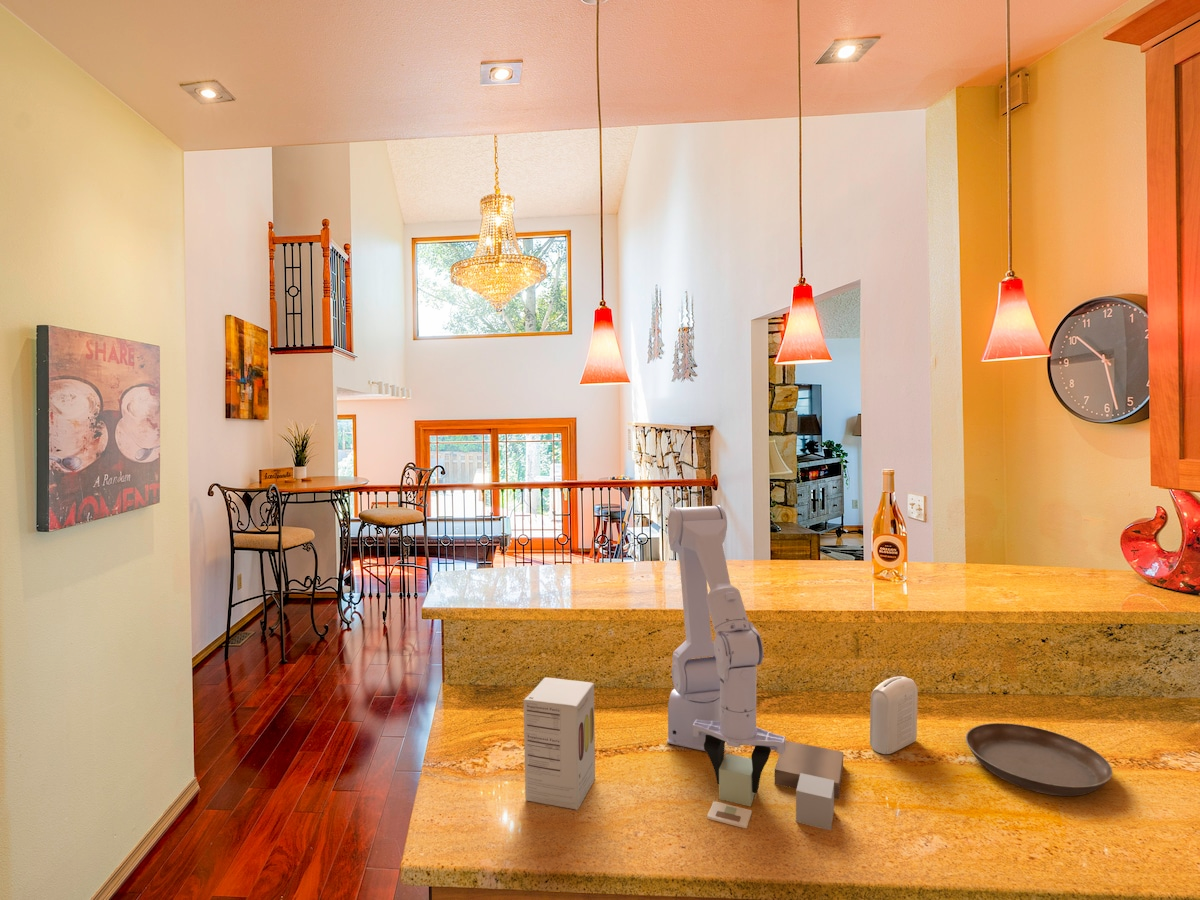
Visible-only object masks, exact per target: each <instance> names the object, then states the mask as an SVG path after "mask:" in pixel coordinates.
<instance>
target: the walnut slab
mask: <svg viewBox="0 0 1200 900" xmlns="http://www.w3.org/2000/svg"><path fill="white" fill-rule="evenodd" d="M778 754H779V753H778ZM843 771H844V751H841V750H840V751H839V750H836V749H835V750H834V749H830V748H826V747H822V746H821V747H819V746H815V745H809V744H805V743H801V742H800V743H799V742H795V741H790V740H785V751H784V754H779V755H778V758H777V760H776V765H775V767H774V785H776V786H780V787H784V788H788V789H789V788H790V789H794V790H796V789H797V785H798V781H799V777H800V773H803V774H807V775H812V776H817V777H821V778H826V779H830V780H834V799H839V798H840V792H841V791H840V790H841V783H842V778H843V777H842V776H843Z"/></svg>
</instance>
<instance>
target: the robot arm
mask: <svg viewBox="0 0 1200 900" xmlns="http://www.w3.org/2000/svg"><path fill="white" fill-rule="evenodd" d="M727 519H728V518H727V514H726V511H725V509H724V508H723V507H722V506H721V505H719V504H715V505H707V506H705V505H703V506H687V507H686V506H685V507H684V506H683V507H677V506H674V507H672V508H671V510H670V511H669V513H668V517H667V533H668V544H669V548H670V550H671V551H672V552H674V553H677V554H678V555H677V556H678V561H679V569H680V570H679V573H680V581H681V594H682V608H683V619H684V620H683V621H684V632H685V640H684V641H683V642H682V643H681V644H680V645H679V646H678V647H677V648H676V649H675V650H674V651H673V652H672V656H671V657H672V664H671V665H672V666H671V678H672V679H671V681H672V684H673V689H672V690H671V691H670V695H669V699H668V705H667V735H668V736H667V737H668V738H667V739H666V742H667V743H668V744H671V745H673V746H674V745H675V746H680V747H685V748H688V749H694V750H699V751H704V752H706V755H707V756H708V758H709V760H710V762H711V764H712V765H711V766H712V768H713V771H714V774H715V778H716V783H717V785H718V786H719V768H720V766H721V764H722V761H723V759H724V757H725V745H727V746H729V747H733V748H740V747H741V746H752V747H754V748H753V751H752V753H751V755H750V757H751V759H752V768H753V780H752V792H753V793H755V794H758V791H759V788H760V781H761V776H762V772H763V769H764V767H765V765H766V764H767V762H768V760H769V758H770V755H771V751H775V752H776V753H777V754H784V751H785V741H786V736H783V735H779V734H775V733H773V732H770V731H768V730H765V729H763V728H760V727H758V726H757V666H761V665H762V663H763V662H764V661H763V660H764V646H763V641H762V637H761V635H760V633H759V630H757V628H756V627H755V625H754V623H753V622H752V621H750V620H749V618H748V615H747V611H746V608H745V606H744V602H743V598H742V596H741V592H740V590H739V589H738V588H737V587H735V586H733V585H732V584H731V580H730V575H729V574H730V573H729V570H728V566H727V560H726V556H725V551H724V550H725V549H724V545H723V544H724V543H725V539H726V535H727V531H728V520H727ZM708 588H709V590H710V591H709V592H708ZM711 623H712V625H713V630H714V633H715V637H714V641H713V638H712V637H713V636H712V626H711Z"/></svg>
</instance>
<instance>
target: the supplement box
mask: <svg viewBox="0 0 1200 900" xmlns="http://www.w3.org/2000/svg"><path fill="white" fill-rule="evenodd" d="M522 705H523V733H524V734H523V737H524V738H523V740H524V742H523V743H524V748H523V749H524V783H525V784H524V785H525V786H524V787H525V788H524V790H525V792H524V794H525V795H524V796H525V801H528V802H533V803H539V804H544V805H549V806H556V807H561V808H567V809H571V810H575V811H578V810H579V809H580V807H581V805H582V803H583V801H584V799H585V798H586V796H587V794H588V793H589V790H590V789H591V787H592V785H593V783H594V781H595V780H596V746H595V745H596V743H595V741H596V739H595V738H596V733H595V732H596V731H595V726H596V725H595V684H594V682H591V681H590V682H589V681H583V680H582V681H581V680H573V679H563V678H556V677H555V678H554V677H545V676H544V677H543V679H542V680H541V681H540V682H539V683H538V684H537V685H536V687H535V688H534V689H533V690H532V691H531V692H530V693H529V694H528V695H527V696H525V698H524V699H523V704H522Z"/></svg>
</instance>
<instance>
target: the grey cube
mask: <svg viewBox="0 0 1200 900" xmlns="http://www.w3.org/2000/svg"><path fill="white" fill-rule="evenodd" d="M834 810H835V798H834V780H830V779H826V778H821V777H817V776H812V775H807V774H803V773H800V777H799V781H798V785H797V789H795V822H796V823H798V824H799V823H800V824H803V825H806V826H807V825H808V826H810V827H816V828H820V829H823V830H828V831H832V828H833V827H832V826H833V819H834V812H835V811H834Z"/></svg>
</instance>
